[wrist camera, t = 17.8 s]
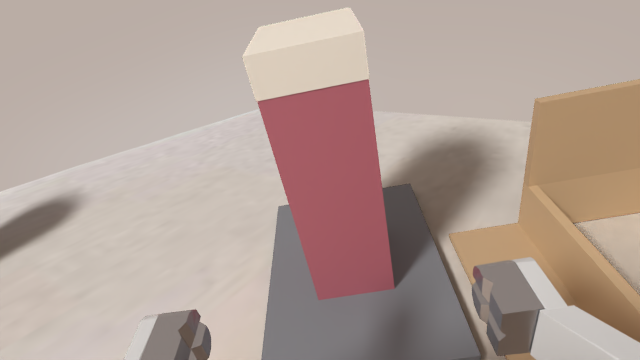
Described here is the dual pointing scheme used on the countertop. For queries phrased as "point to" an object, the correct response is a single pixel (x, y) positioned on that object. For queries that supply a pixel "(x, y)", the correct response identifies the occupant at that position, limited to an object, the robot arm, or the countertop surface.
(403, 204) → the charcoal mat
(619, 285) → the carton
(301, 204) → the burgundy box
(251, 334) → the countertop surface
